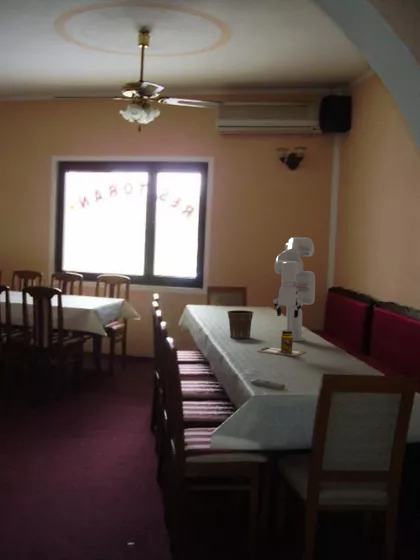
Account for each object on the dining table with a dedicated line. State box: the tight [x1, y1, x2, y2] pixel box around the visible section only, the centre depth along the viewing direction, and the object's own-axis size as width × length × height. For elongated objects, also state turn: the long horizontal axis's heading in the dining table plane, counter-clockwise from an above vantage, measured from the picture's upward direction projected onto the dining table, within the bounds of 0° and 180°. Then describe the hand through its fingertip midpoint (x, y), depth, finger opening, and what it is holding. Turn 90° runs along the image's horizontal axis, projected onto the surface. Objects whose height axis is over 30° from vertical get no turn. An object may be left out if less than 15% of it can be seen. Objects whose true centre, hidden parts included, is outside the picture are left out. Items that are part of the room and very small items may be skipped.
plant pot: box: [226, 309, 254, 340], centre depth 354 cm, size 16×16×16 cm
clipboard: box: [257, 346, 307, 358], centre depth 311 cm, size 15×22×1 cm
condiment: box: [275, 329, 294, 355], centre depth 307 cm, size 7×8×12 cm
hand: (287, 316), depth 306 cm, fingers open, 9 cm apart
